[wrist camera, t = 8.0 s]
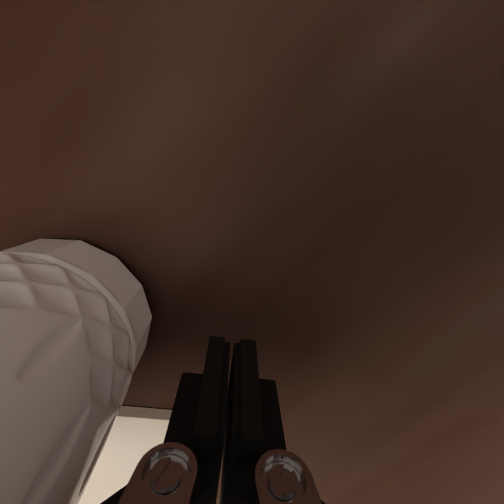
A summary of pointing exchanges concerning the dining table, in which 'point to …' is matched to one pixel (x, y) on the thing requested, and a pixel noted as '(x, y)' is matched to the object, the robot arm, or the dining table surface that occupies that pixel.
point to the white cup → (63, 364)
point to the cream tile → (125, 450)
